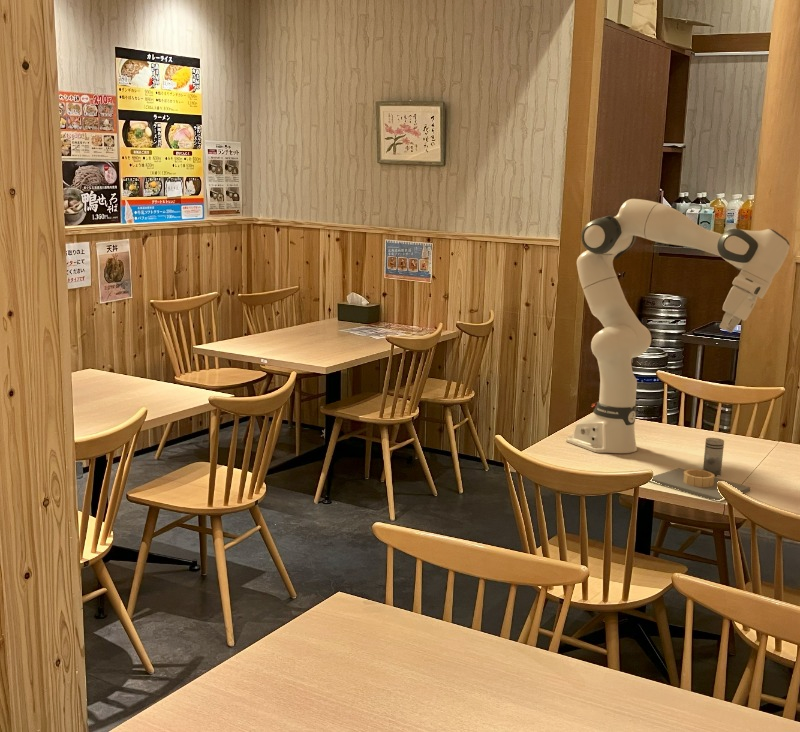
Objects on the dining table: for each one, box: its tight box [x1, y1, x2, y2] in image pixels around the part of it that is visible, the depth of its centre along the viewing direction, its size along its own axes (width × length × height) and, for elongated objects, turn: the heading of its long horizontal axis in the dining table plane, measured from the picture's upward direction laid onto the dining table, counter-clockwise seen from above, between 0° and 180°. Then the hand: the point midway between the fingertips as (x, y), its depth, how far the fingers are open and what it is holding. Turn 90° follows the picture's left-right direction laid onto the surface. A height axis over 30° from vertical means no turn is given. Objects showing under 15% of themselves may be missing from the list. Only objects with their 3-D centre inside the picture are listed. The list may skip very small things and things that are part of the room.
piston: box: [702, 437, 725, 477], centre depth 277 cm, size 5×5×10 cm
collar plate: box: [652, 467, 751, 500], centre depth 266 cm, size 22×16×4 cm
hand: (725, 330), depth 272 cm, fingers open, 8 cm apart
